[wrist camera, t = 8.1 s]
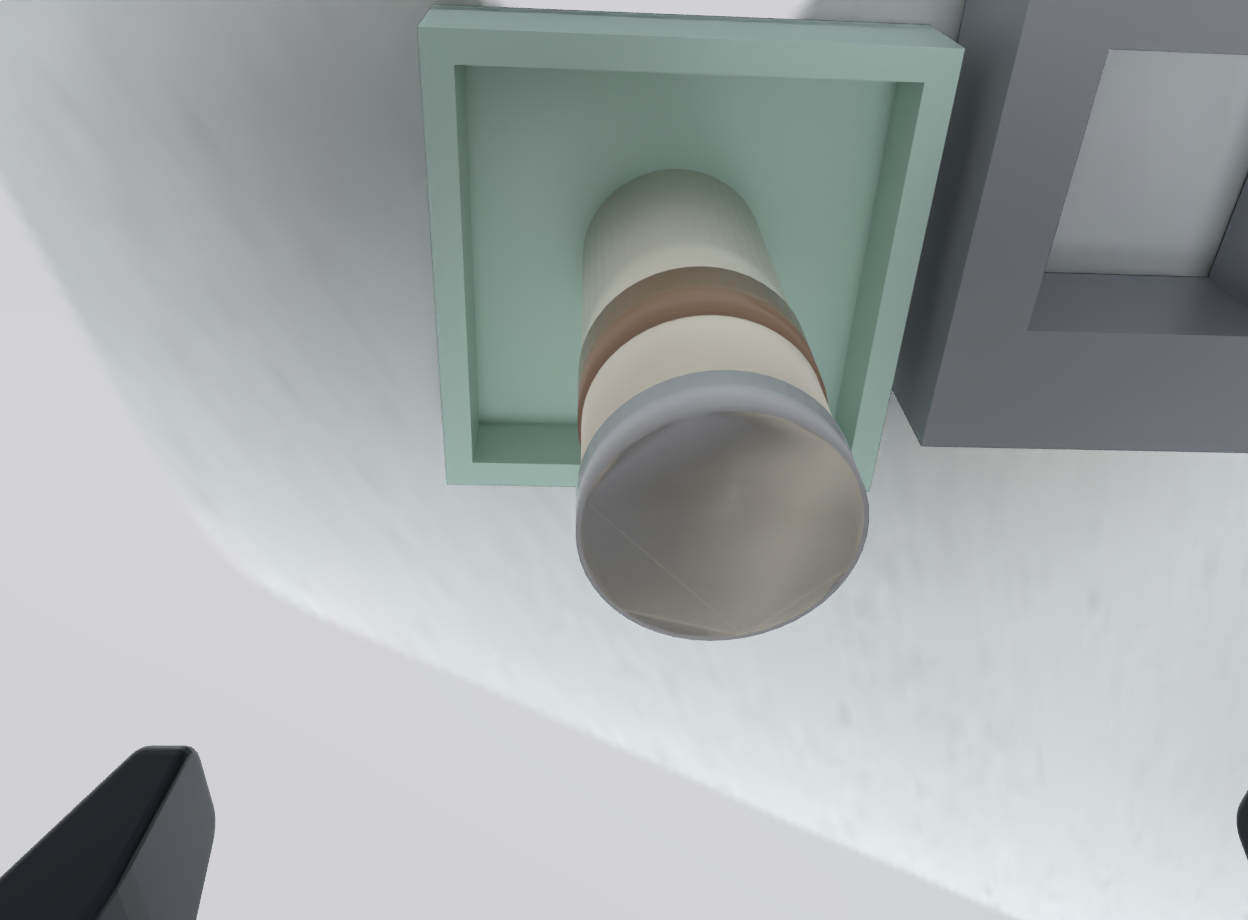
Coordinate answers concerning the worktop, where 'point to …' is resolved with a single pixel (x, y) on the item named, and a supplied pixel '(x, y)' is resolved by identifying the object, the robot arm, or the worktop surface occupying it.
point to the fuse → (704, 423)
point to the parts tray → (653, 141)
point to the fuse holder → (1020, 246)
